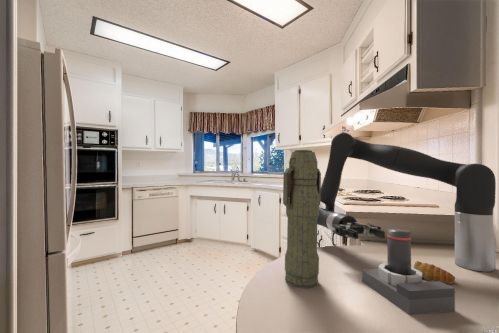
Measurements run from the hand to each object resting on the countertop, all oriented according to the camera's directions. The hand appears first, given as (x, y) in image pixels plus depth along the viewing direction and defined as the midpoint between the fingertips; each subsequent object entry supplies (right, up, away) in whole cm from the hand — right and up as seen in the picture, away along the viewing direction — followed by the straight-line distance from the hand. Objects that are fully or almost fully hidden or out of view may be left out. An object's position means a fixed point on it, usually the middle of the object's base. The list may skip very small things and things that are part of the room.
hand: (370, 235), depth 72 cm
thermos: (-22, -11, -6) cm, 25 cm away
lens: (+1, -8, -11) cm, 14 cm away
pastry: (+16, -12, -2) cm, 20 cm away
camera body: (+2, -11, -12) cm, 17 cm away
